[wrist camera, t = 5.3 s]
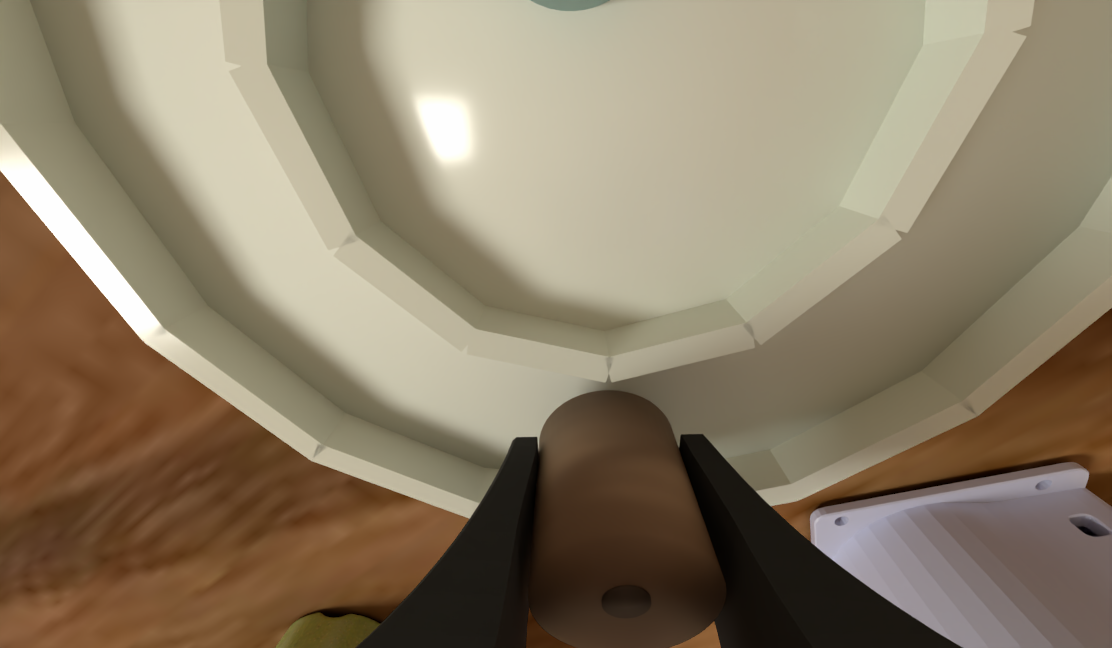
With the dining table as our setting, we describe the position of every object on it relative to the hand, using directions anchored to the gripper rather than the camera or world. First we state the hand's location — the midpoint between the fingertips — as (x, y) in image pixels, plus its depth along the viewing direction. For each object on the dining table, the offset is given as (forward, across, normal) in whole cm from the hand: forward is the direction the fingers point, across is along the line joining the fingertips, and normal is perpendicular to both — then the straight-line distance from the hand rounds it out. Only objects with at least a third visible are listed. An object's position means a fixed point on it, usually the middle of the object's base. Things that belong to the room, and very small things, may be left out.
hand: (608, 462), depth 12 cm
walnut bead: (+1, 0, 0) cm, 1 cm away
